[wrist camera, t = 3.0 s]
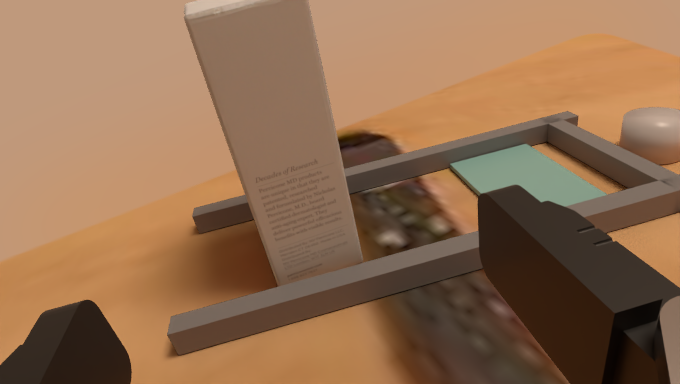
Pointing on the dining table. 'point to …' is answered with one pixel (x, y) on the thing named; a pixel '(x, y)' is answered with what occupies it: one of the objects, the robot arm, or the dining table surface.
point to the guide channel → (463, 251)
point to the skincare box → (278, 130)
